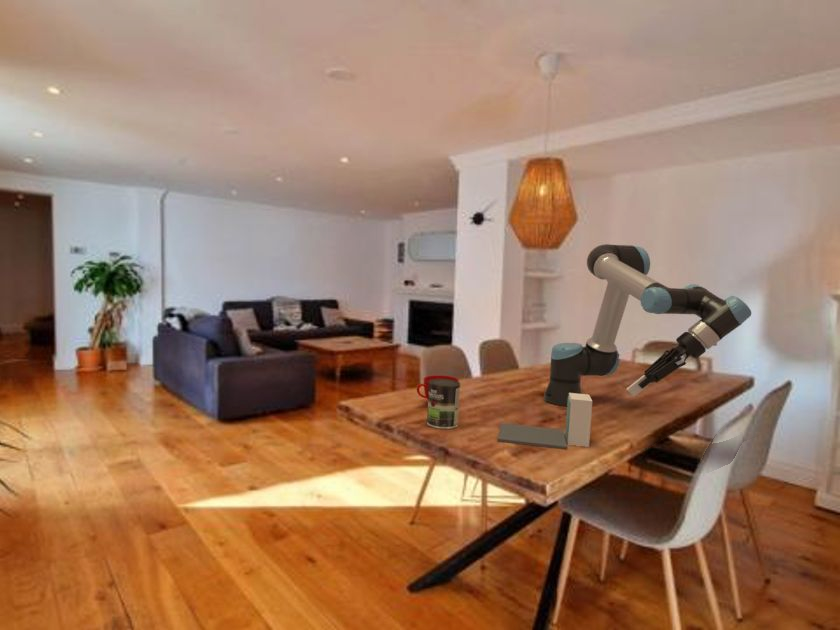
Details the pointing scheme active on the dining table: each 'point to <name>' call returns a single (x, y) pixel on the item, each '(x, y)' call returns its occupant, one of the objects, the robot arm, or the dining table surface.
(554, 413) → the dining table surface
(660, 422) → the dining table surface
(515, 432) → the charcoal mat
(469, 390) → the dining table surface
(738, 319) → the robot arm
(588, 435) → the cream block
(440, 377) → the ceramic cup
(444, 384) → the coffee can
